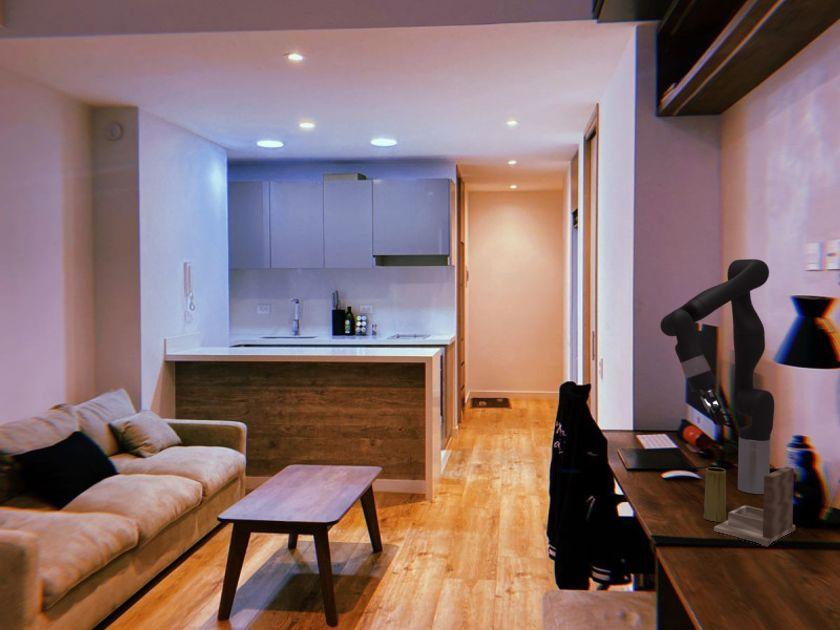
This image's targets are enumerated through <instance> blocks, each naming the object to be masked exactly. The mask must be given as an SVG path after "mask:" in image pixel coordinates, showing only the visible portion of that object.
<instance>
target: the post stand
mask: <svg viewBox="0 0 840 630" xmlns="http://www.w3.org/2000/svg"><path fill="white" fill-rule="evenodd" d="M794 470H795V469H794V468H793V467H789V466H785V467H782V468H779V469H778V470H775V471H773V472H769V474H768V475H765V476H764V494H763V508H759V507H754V506H749V505H746V504H744V505H743V506H742V505H741V506H740V507H738V508H735V509H733V510H731V511H728V513H727V514H728V516H727V518H728V519H727V520H726V521H724V522H720V523H718V524H717V525H715V526H713V532H714V531H716V532H720V533H724V534H728V535H732V536H736V537H739V538H743V539H746V540H749V541H753V542H756V543H759V544H761V545H760V546H763V547H767V548H768V547H769V545H770V544H771V543H772V542H773V541H775V540H777V539H779V538H781V537H783V536H785V535H787V534H789V533H790V534H791V532H792V533H793V531H794V532H795V531H796V525H795V524H793V518H794V512H793V510H794V508H793V507H794V482H795V481H794V477H795V476H794V473H795V471H794ZM790 534H789V535H790ZM787 536H788V535H787ZM785 537H786V536H785ZM783 538H784V537H783ZM759 544H758V545H759ZM771 545H772V544H771ZM771 545H770V546H771Z"/></svg>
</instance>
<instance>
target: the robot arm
mask: <svg viewBox="0 0 840 630" xmlns="http://www.w3.org/2000/svg"><path fill="white" fill-rule="evenodd" d="M769 277H770V269H769V266H768V264H767V263H766V262H765V261H764V260H761V259H756V258H752V259H751V258H747V259H735V260H733V261H732V262H730V264H729V265H728V269H727V280H726V281H724V282H722V283H720V284H717V285H713V286H712V287H710V288H707V289H705V290H703V291H701V292H700V293H698V294H696V295H695V296H693V297H692V298H690V299H689V300H688V301H687V302H686V303H684V304H683V305H682V306H680V307H678V308H677V309H675V310H673V311H671V312H669V313H668V314H666V315H664V316H663V318H662V319H661V321H660V327H659V328H660V330H661V332H662V333H663V334H664V335H666V336H668V337H676V344H675V346H674V350H675V354H676V355H677V358H678V360H679V363H680V364H681V365H680V366H681V369H682V371H683V374H684V375H685V379H686V381H687V384H688V385H689V388H690V389H691V392H697V391H700V392H699V397H700V400H701V401H702V403H703V406H704V408H705V410H706V412H707V413H708V414H709V415H710V419H711V420H712V422H713V425H715V426H717V425H719V426H721V425H726V423H727V420H726V418H725V416H724V413H723V406H722V404H721V402H720V401H719V398H718V396H717V394H716V390H715V389H714V388H711V386H713V385H716V384H717V381H716V378H715V376H714V374H713V371H712V368H711V367H710V364H709V363H708V360H707V359H706V357H705V355H704V354H703V352H702V349H701V346H700V344H699V342H698V336H697V330H696V325H695V323H698V322H699V321H702V320H704V319H705V318H706V317H708V316H709V315H711V314H712V313H713V312H715V311H716V310H718V309H719V308H721V307H722V306H724V305H726V304H728V303H729V302H731V303H730V305H731V314H732V315H731V316H732V337H733V351H734V383H733V384H734V386H733V387H734V388H733V404H734V405H733V406H734V409H735V411H736V412H737V413H738V414H739V415H741V416H746V417H751V422H750V423H751V424H749V425H747V426H742V427H740V428H739V430H738V455H737V456H738V459H737V460H738V463H737V464H738V467H737V490H739V491H740V492H743V493H748V494H755V495H764V476H765V475H768V474H770V466H771V464H770V463H771V462H770V461H771V435H772V433H773V432H772V431H773V428H774V419H775V417H774V416H775V399H774V396H773V394H772V393H771V392H770V391H768V390H765V389H760V388H754V373H755V369H756V368H757V365H758V364H759V362H760V360H761V358H762V357H763V355H764V353H765V349H766V338H765V337H766V335H765V334H766V333H765V326H764V325H763V322H762V319H761V318H760V316H759V314H758V313H757V311H756V309H755V307H754V305H753V302H752V298H751V297H752V296H751V295H752V294H751V291H753V290H756V289H758V288H760V287H762V286H763V285H764V284H766V283H767V281H768V279H769Z"/></svg>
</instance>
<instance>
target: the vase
mask: <svg viewBox="0 0 840 630" xmlns="http://www.w3.org/2000/svg"><path fill="white" fill-rule="evenodd" d="M726 483H727V470H726V469H724V468H721V467H717V466H716V467H714V466H712V467H711V466H710V467H706V468H705V484H704V485H705V486H704V487H705V490H704V502H703V503H704V504H703V505H704V508H703V509H704V511H703V519H704V520H706V521H708V520H709V521H708V522H712V521H714V522H713V523H723V522H725V521H727V520H728V519H727V518H728V517H727V504H726V503H727V490H726V487H727V484H726Z"/></svg>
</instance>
